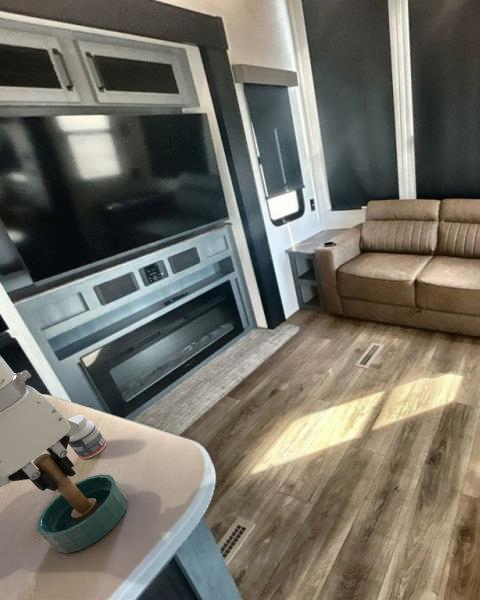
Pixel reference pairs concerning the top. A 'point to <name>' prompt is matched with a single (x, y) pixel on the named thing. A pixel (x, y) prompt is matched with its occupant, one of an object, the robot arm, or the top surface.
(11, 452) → the robot arm
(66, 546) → the bowl
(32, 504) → the top surface
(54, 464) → the wooden peg
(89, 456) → the pill bottle
